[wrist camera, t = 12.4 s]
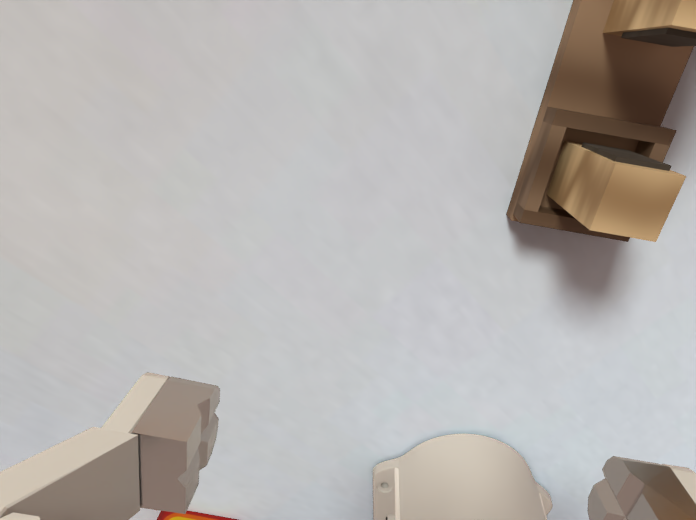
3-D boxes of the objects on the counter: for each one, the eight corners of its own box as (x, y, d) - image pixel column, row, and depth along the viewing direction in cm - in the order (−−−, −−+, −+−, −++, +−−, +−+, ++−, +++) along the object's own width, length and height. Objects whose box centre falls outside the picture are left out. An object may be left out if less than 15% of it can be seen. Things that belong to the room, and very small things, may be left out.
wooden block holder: (604, 231, 37) (671, 284, 29) (506, 214, 37) (543, 261, 29) (717, -44, 30) (855, -87, 21) (594, -66, 30) (681, -118, 21)
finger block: (598, 203, 35) (655, 241, 28) (546, 194, 35) (589, 230, 28) (621, 146, 33) (688, 171, 26) (566, 136, 33) (617, 158, 26)
